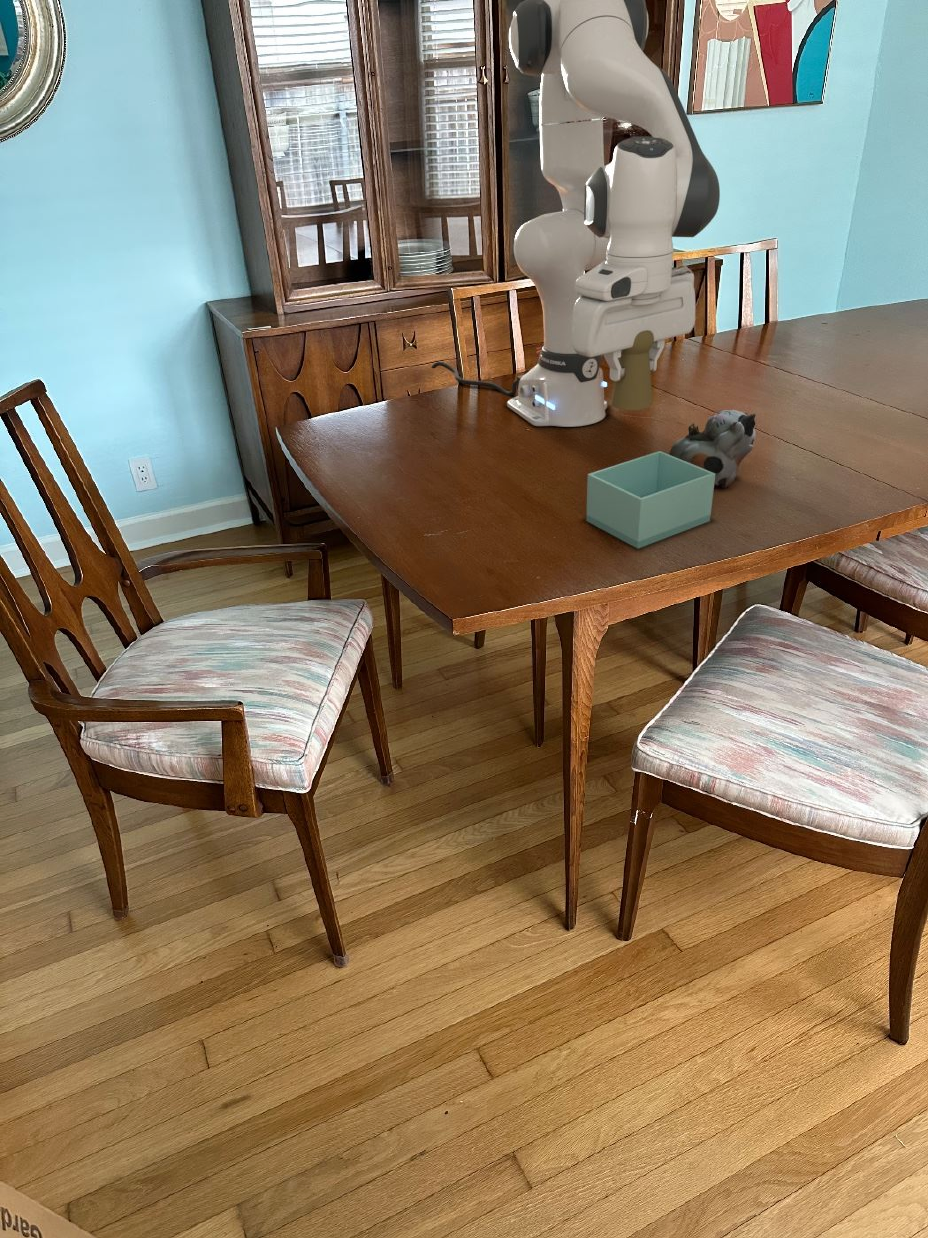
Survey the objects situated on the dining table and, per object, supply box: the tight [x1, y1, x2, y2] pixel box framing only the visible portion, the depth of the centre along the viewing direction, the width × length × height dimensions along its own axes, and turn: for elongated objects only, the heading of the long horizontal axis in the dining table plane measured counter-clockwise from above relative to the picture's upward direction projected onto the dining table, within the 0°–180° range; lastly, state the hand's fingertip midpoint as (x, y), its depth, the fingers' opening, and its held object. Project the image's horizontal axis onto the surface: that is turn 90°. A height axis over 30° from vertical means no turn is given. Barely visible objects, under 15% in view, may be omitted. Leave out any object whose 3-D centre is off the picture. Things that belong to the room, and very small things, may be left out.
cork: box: [610, 330, 654, 411], centre depth 123 cm, size 6×6×11 cm
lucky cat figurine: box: [668, 409, 757, 489], centre depth 145 cm, size 15×12×14 cm
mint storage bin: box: [585, 450, 715, 549], centre depth 132 cm, size 8×15×12 cm
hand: (632, 375), depth 124 cm, fingers closed on cork, 4 cm apart
